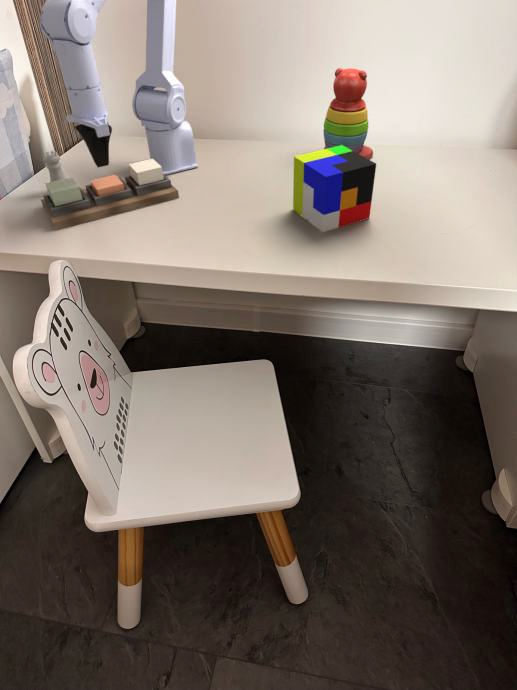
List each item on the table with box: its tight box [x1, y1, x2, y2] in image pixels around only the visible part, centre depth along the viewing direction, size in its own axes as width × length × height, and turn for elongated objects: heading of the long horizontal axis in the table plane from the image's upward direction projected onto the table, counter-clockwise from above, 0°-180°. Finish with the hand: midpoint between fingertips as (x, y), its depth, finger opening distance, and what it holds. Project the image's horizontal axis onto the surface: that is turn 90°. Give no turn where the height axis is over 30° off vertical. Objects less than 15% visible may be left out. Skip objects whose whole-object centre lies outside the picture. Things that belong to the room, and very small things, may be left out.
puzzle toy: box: [292, 145, 377, 233], centre depth 88 cm, size 10×10×10 cm
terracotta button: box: [89, 174, 125, 197], centre depth 96 cm, size 5×5×2 cm
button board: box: [40, 174, 180, 231], centre depth 96 cm, size 24×11×3 cm, turn 119°
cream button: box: [128, 158, 164, 185], centre depth 97 cm, size 5×5×2 cm
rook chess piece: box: [42, 150, 67, 182], centre depth 99 cm, size 4×4×8 cm
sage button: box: [44, 176, 83, 206], centre depth 92 cm, size 5×5×2 cm
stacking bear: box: [323, 67, 374, 160], centre depth 105 cm, size 11×10×18 cm
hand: (102, 165), depth 93 cm, fingers closed
